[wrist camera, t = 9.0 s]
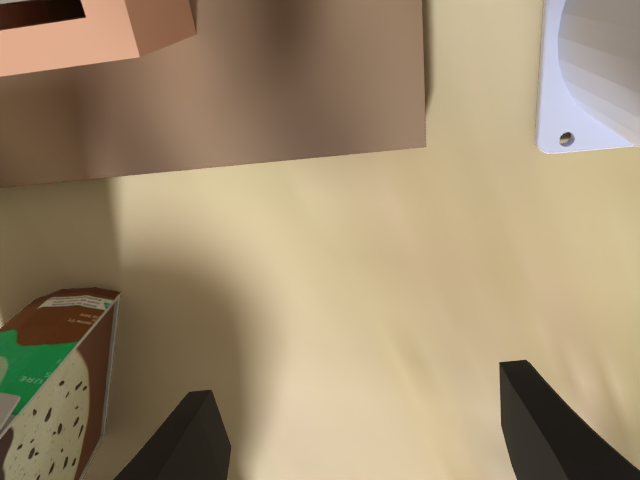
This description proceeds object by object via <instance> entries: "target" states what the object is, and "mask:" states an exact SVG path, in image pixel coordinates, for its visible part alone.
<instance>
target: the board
mask: <svg viewBox="0 0 640 480" xmlns="http://www.w3.org/2000/svg"><path fill="white" fill-rule="evenodd" d="M45 3H46V6H47V9H48V12H49V15H50V18H51V21H57V20H63V19H70V18H77V17H83V16H86V15H85V12H84V9H83V6H82V2H81V0H47V1H45ZM189 3H190V8H191V12H192V17H193V21H194V26H195V30H196V34H197V35H194V36H192V37H189V38H187V39H184V40H182V41H179V42H177V43H174V44H172V45H169V46H167V47H164V48H162V49H159V50H157V51H154V52H152V53H149V54H147V55H144V56H142V57H138V58H131V59H123V60H116V61H109V62H102V63H95V64H88V65H80V66H73V67H66V68H59V69H52V70H44V71H37V72H30V73H23V74H16V75H9V76H1V77H0V188H2V187H13V186H23V185H34V184H44V183H55V182H65V181H76V180H86V179H97V178H107V177H118V176H128V175H139V174H149V173H160V172H170V171H181V170H191V169H202V168H212V167H222V166H233V165H243V164H254V163H264V162H275V161H285V160H296V159H306V158H317V157H327V156H338V155H348V154H359V153H369V152H380V151H390V150H401V149H411V148H422V147H426V123H425V88H424V53H423V18H422V0H189Z"/></svg>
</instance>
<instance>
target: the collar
mask: <svg viewBox="0 0 640 480" xmlns="http://www.w3.org/2000/svg"><path fill="white" fill-rule="evenodd" d="M81 2H82V6H83V9H84V12H85V15H86V16H83V17H77V18H70V19H63V20H57V21H51V18H50V15H49V12H48V9H47V6H46V3H45V1H37V2H26V3H16V4H5V5H0V77H1V76H9V75H16V74H23V73H30V72H37V71H44V70H52V69H59V68H66V67H73V66H80V65H88V64H95V63H102V62H109V61H116V60H123V59H131V58H138V57H142V56H144V55H147V54H149V53H152V52H154V51H157V50H159V49H162V48H164V47H167V46H169V45H172V44H174V43H177V42H179V41H182V40H184V39H187V38H189V37H192V36H194V35H197V34H196V30H195V26H194V21H193V17H192V12H191V8H190V3H189V0H81Z"/></svg>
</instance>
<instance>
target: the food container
mask: <svg viewBox="0 0 640 480" xmlns="http://www.w3.org/2000/svg"><path fill="white" fill-rule="evenodd" d="M120 294H121V292H117V291H112V290H106V289H101V288H95V287H93V288H76V289H62V290H59V291H56V292H54V293H51V294H49V295H46V296H43V297H41V298H38V299H36V300H34V301H33V302H32V303H31V304H29V305H28V306H27V307H26V308H25V309H23V310H22V311H21V312H20V313H19V314H17V315H16V316H15V317H14V318H13V319H11V320H10V321H9V322H8V323H7V324H5V325H4V326H3V327H2V328H0V480H83V478H84V476H85V474H86V472H87V470H88V468H89V466H90V464H91V462H92V460H93V458H94V456H95V454H96V452H97V450H98V448H99V446H100V444H101V442H102V440H103V438H104V436H105V428H106V419H107V410H108V401H109V392H110V383H111V374H112V365H113V357H114V348H115V339H116V330H117V321H118V312H119V303H120Z"/></svg>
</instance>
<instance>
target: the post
mask: <svg viewBox="0 0 640 480" xmlns="http://www.w3.org/2000/svg"><path fill="white" fill-rule="evenodd" d="M37 1H47V0H0V5H5V4H16V3H26V2H37Z"/></svg>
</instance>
